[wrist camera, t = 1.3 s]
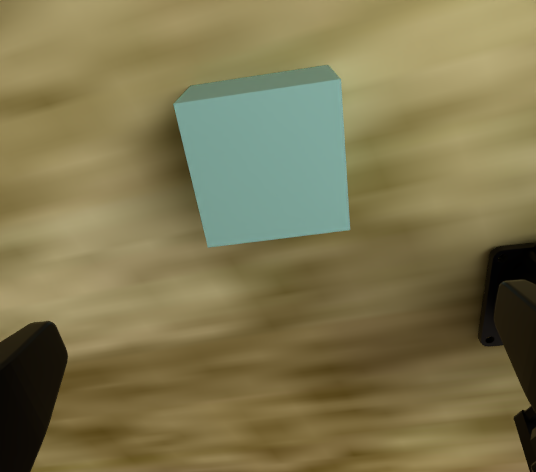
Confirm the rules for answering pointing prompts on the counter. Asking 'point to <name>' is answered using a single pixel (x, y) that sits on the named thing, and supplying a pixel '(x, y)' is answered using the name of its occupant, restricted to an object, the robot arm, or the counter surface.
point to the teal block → (267, 155)
